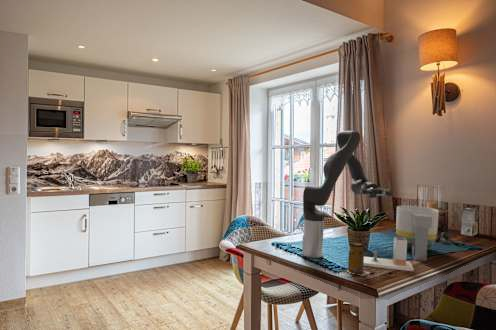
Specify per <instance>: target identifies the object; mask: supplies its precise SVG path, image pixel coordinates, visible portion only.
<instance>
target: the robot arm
mask: <svg viewBox="0 0 496 330" xmlns="http://www.w3.org/2000/svg"><path fill="white" fill-rule="evenodd" d="M336 141H337V142H336V143H337V145H338V148H339V149H338V150H336V151H335V152H334V153H332V154H331V155H329V156H328V158H327V159H326V161H325V163H324V165H323V168H322V169H323V175H324V181H323V183H322V185H314V184H313V185H311V184H309V185H306V186H305V188H304V189H303V194H302V205H303V206H302V207H303V209H302V212H303V235H302V246H301V248H302V250H301V251H302V252H301V256H302V257H303V256H304V257H308V258H312V259H313V258H314V259H315V258H316V259H318V258H319V259H320V258H322V257H323V251H324V250H323V248H324V227H325V226H324V222H325V214H324V213H323V212H321V211H320V210H318V208H317V207H323V206H325V205H326V204H327V203H328V201H329V199H330V196H331V194H332V192H333V190H334V187H335V185H336V183H337V181H338V179H339V178H340V176H341V174H342V173H343V171H344V169H345V167H346V165H347V167H348V171H349V174H350V177H351V179H352V180H354V182H352V183H351V184H350V190H351V191H352V192H353V194H355V195H364V196H365V197H368V198H370V199H375V198H377V197H378V196H381V197H383V196H387V197H391V196H393V190H391V189H388V188H380V187H379V185H377V183H374V182H370V181H369V180H368V178H367V177H366V176H365V173H364V169H363V166H362V163H361V162H360V160H359V159H358V158H357V157H356V156H355V155H354V153H355V152H356V150H357V148H358V147H359V145H360V143H361V134H360V132H359V131H358V130H342V131H341V130H340V131H339V132H338V134H337V137H336ZM316 206H317V207H316Z"/></svg>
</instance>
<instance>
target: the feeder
mask: <svg viewBox="0 0 496 330" xmlns="http://www.w3.org/2000/svg"><path fill="white" fill-rule="evenodd" d="M411 223H412V224H413V225H414V229H413V242H412V250H411V256H412V258H413V259H414V261H421V262H426V261H427V257H428V249H427V243H428V228H431V224H432V217H431V216H430V215H429V214H425V213H412V218H411Z"/></svg>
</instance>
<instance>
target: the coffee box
mask: <svg viewBox="0 0 496 330" xmlns="http://www.w3.org/2000/svg"><path fill="white" fill-rule="evenodd" d="M479 211H480V209H479V208H474V207H473V208H472V207H466V208H462V212H461V213H462V214H461V229H460V234H461V235H465V236H471V237H473V236H476V235H478V227H479Z"/></svg>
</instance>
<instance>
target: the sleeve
mask: <svg viewBox="0 0 496 330" xmlns="http://www.w3.org/2000/svg"><path fill="white" fill-rule="evenodd" d="M407 252H408V248H407V240H406V239H405V238H398V237H397V236H396V237H395V236H394V237H393V247H392V260H393V263H394V264H395V265H403V266H406V261H407Z"/></svg>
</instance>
